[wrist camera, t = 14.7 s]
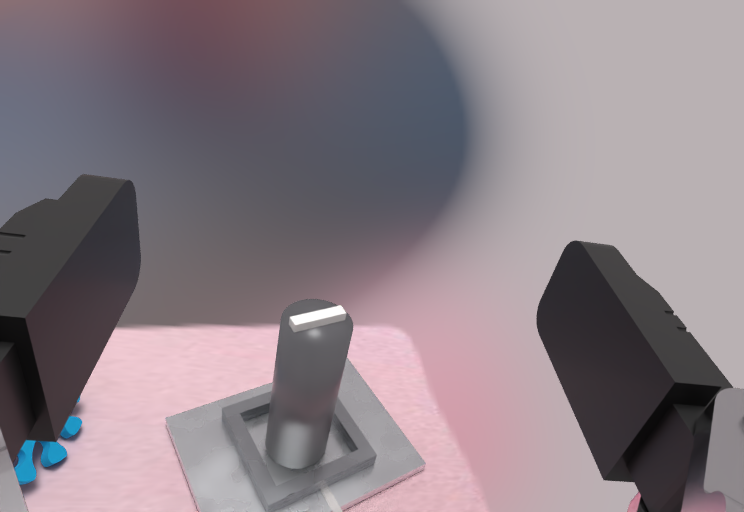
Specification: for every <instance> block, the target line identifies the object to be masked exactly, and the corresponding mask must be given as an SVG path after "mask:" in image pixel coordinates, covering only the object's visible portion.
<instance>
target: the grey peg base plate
mask: <svg viewBox="0 0 744 512" xmlns="http://www.w3.org/2000/svg"><path fill="white" fill-rule="evenodd" d="M272 385H273V382H272V383H269V384H266V385H263V386H260V387H257V388H254V389H251V390H248V391H245V392H242V393H239V394H236V395H233V396H230V397H227V398H224V399H221V400H218V401H215V402H212V403H209V404H206V405H203V406H200V407H197V408H194V409H191V410H188V411H185V412H182V413H179V414H176V415H173V416H170V417H167V418H166V426H167V429H168V432H169V434H170V437H171V440H172V442H173V445H174V448H175V450H176V453H177V456H178V458H179V461H180V464H181V466H182V469H183V472H184V474H185V477H186V480H187V482H188V485H189V488H190V490H191V493H192V496H193V498H194V501H195V504H196V506H197V509H198V512H343V511H344V510H346V509H348V508H349V507H351V506H353V505H355V504H357V503H359V502H361V501H363V500H365V499H367V498H369V497H371V496H373V495H375V494H377V493H379V492H381V491H383V490H385V489H387V488H389V487H391V486H393V485H394V484H396V483H398V482H400V481H402V480H404V479H406V478H408V477H410V476H412V475H414V474H416V473H418V472H420V471H422V470H424V467H425V464H426V463H425V462H424V460H423V459H422V458H421V456H420V455H419V454H418V452H417V451H416V450H415V448H414V447H413V446H412V444H411V443H410V442H409V440H408V439H407V437H406V436H405V435H404V433H403V432H402V431H401V429H400V428H399V427H398V425H397V424H396V423H395V421H394V420H393V419H392V417H391V416H390V415H389V413H388V412H387V411H386V409H385V408H384V407H383V405H382V404H381V402H380V401H379V400H378V398H377V397H376V396H375V394H374V393H373V392H372V390H371V389H370V388H369V386H368V385H367V384H366V382H365V381H364V380H363V378H362V377H361V376H360V374H359V373H358V371H357V370H356V369H355V367H354V366H353V365H352V363H351V362H350V361H349V359H348V358H346V362H345V367H344V371H343V375H342V380H341V384H340V389H339V393H338V397H337V402H336V406H335V411H334V415H333V419H332V424H331V428H330V432H329V437H328V441H327V446H326V450H325V452H324V454H323V456H322V457H321V459H320V460H319V461H318V462H316V463H315V464H313V465H311V466H309V467H306V468H301V469H293V468H287V467H284V466H282V465H280V464H278V463H277V462H275V461H274V460H273V459H272V458H271V457H270V455H269V454H268V452H267V449H266V445H265V440H266V432H267V424H268V416H269V408H270V401H271V393H272Z"/></svg>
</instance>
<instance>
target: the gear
mask: <svg viewBox="0 0 744 512" xmlns="http://www.w3.org/2000/svg"><path fill="white" fill-rule="evenodd" d="M79 400H80V397H79V399H78V400H77V402H79ZM77 402H76V403H77ZM81 424H82V421H81V419H80V418H78V417H73V416H69V418H68V420H67V422H66V424H65V426H64V428H63V430H62V432H61V434H60V435H61V436H62V437H63V438H69V437H71V436H73V435H75V434H76V433H77V432H78V430H79V429H80V427H81ZM35 442H36V441H32V440H26V441H25V442H24V444H23V446H22V448H21V449H20V451H19V453H18V455H17V457H18V464H17V466H16V467H15V468H14V469H15V472H16V475H17V478H18V481H19V484H20V485H23V484H27V483H29V482H32V481H34V480H35V478H36V469H35V467H34V465H33V461H32V452H33V448H34V445H35ZM37 442H40V443H41V444H42V446H43V451H42V455H41V463H42V465H43V466H44V467H49V466H51V465H53V464H55V463H57V462H59V461H61V460H62V459H64V458H65V457H66V456H67V451H66V449H65V448H64V447H63V446H61V445H60V444H59V443H57V441H56V442H47V441H37Z"/></svg>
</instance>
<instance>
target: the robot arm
mask: <svg viewBox="0 0 744 512" xmlns="http://www.w3.org/2000/svg"><path fill="white" fill-rule="evenodd" d="M140 263H141V253H140V241H139V228H138V215H137V203H136V192H135V187H134V185H133V183H132V181H130V180H125V179H117V178H109V177H101V176H94V175H87V174H83V175H81V176H80V177H78V178H77V180H76V181H75V182H74V183H73V184H72V185H71V186H70V187H69V188H68V190H67V191H66V192H65V193H64V194H63V195H62V196H61V197H60V198H59V199H58V200H53V199H44V200H41V201H40V202H37V203H35V204H33V205H31V206H29V207H27V208H25V209H23V210H21V211H19V212H17V213H15V214H14V215H13V217H11V218H10V219H9V220H8V221H7V222H6V223H5V224H4V225H3V227H1V228H0V512H28V509H27V506H26V502H25V499H24V496H23V493H22V490H21V487H20V484H19V481H18V478H17V475H16V472H15V469H14V466H13V462H14V460H15V458H16V456H17V455H18V453H19V451H20V449H21V448H22V446H23V444H24V442H25V441H26V440H32V441H47V442H56V441H57V439H58V437H59V436H60V434H61V432H62V430H63V428H64V426H65V424H66V422H67V420H68V418H69V416H70V414H71V412H72V410H73V408H74V406H75V404H76V402H77V400H78V399H79V397H80V395H81V393H82V391H83V389H84V387H85V385H86V383H87V381H88V379H89V377H90V375H91V373H92V371H93V369H94V367H95V365H96V363H97V362H98V360H99V358H100V356H101V354H102V352H103V350H104V348H105V346H106V344H107V342H108V340H109V338H110V336H111V334H112V332H113V330H114V328H115V326H116V325H117V323H118V321H119V318H120V317H121V315H122V313H123V311H124V309H125V307H126V305H127V303H128V301H129V299H130V297H131V295H132V293H133V291H134V289H135V287H136V284H137V281H138V277H139V271H140ZM673 313H674V311H673V310H672V309H671V307H670V306H669V305H668V304H667V302H666V301H665V300H664V299H663V297H662V296H661V295H660V293H659V292H658V291H657V290H655V289H654V288H653V287H651V286H650V285H649V284H648V283H646V282H645V281H644V280H643V279H641V278H640V277H639V276H637V275H636V273H635V272H634V271H633V269H632V268H631V267H630V265H629V264H628V263H627V261H626V260H625V259H624V257H623V256H622V255H621V254H620V252H619V251H618V250H617V249H616V248H615V247H614V246H611V245H604V244H597V243H590V242H582V241H572V242H570V243H569V244H568V245H567V246H566V247H565V249H564V251H563V253H562V255H561V257H560V259H559V261H558V263H557V266H556V268H555V270H554V272H553V274H552V276H551V279H550V281H549V283H548V285H547V287H546V289H545V291H544V294H543V296H542V298H541V300H540V303H539V306H538V311H537V328H538V332H539V335H540V337H541V340H542V342H543V344H544V346H545V349H546V351H547V353H548V355H549V358H550V360H551V362H552V364H553V367H554V369H555V371H556V373H557V376H558V378H559V380H560V382H561V385H562V387H563V389H564V392H565V394H566V396H567V398H568V400H569V403H570V405H571V408H572V410H573V412H574V414H575V417H576V419H577V421H578V423H579V426H580V428H581V430H582V432H583V435H584V437H585V439H586V441H587V444H588V446H589V448H590V450H591V453H592V455H593V457H594V459H595V462H596V464H597V466H598V469H599V471H600V473H601V475H602V478H603V479H604V480H608V481H624V482H635V484H636V486H637V489H638V491H639V492H638V493H637V494H636V495H635V497H634V498H633V499H632V500H631V502H630V504H629V507H628V510H627V512H744V389H740V388H733V387H732V385H731V384H730V383H729V382H728V380H727V379H726V378H725V376H724V375H723V374H722V372H721V371H720V370H719V369H718V367H717V366H716V365H715V364H714V362H713V361H712V360H711V359H710V357H709V356H708V355H707V353H706V352H705V351H704V350H703V348H702V347H701V346H700V344H699V343H698V342H697V341H696V339H695V338H694V337H693V335H692V334H691V333H690V332H686V327H685V325H684V324H683V323H682V321H681V320H680V319H679V318H678V316H675V315H673Z"/></svg>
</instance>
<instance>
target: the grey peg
mask: <svg viewBox="0 0 744 512" xmlns="http://www.w3.org/2000/svg"><path fill="white" fill-rule="evenodd" d="M352 332H353V322H352V319H351V317H350V316H349V314H348V313H347V312H346V311H345V310H344V309H343V308H342V306H341V305H340V306H338V305H336V304H333V303H331V302H328V301H324V300H318V299H306V300H301V301H297V302H295V303H293V304H291V305H289V306H288V307H287V308H286V309H285V310H284V312H283V313H282V316H281V322H280V330H279V338H278V346H277V354H276V361H275V369H274V377H273V385H272V393H271V401H270V408H269V416H268V424H267V432H266V440H265V445H266V449H267V452H268V454H269V455H270V457H271V458H272V459H273V460H274V461H275V462H277V463H278V464H280V465H282V466H284V467H287V468H293V469H301V468H306V467H309V466H311V465H313V464H315V463H316V462H318V461H319V460H320V459H321V457H322V456H323V454H324V452H325V450H326V446H327V441H328V437H329V432H330V428H331V424H332V419H333V415H334V411H335V406H336V402H337V397H338V393H339V389H340V384H341V380H342V375H343V371H344V367H345V362H346V358H347V354H348V349H349V345H350V340H351V336H352Z"/></svg>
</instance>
